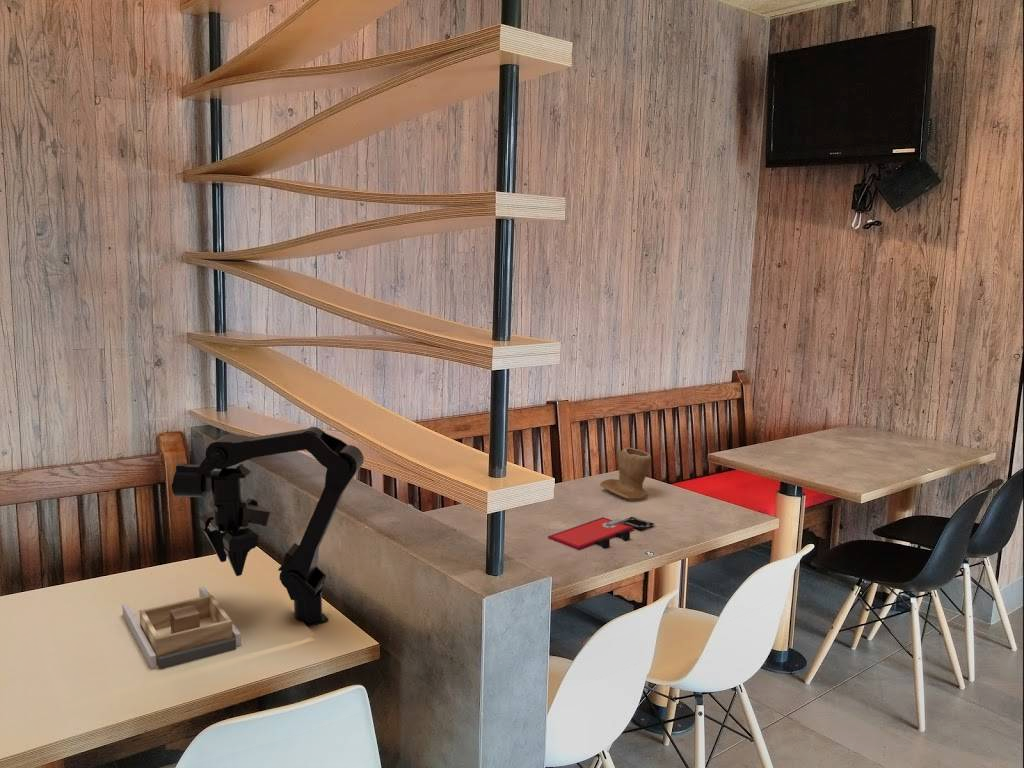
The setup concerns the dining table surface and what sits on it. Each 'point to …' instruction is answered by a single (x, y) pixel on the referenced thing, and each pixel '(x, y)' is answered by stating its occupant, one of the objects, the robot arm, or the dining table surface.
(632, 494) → the brown boot
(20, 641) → the dining table surface
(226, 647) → the bay
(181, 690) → the dining table surface
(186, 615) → the block
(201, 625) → the crate
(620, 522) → the red board with handle
